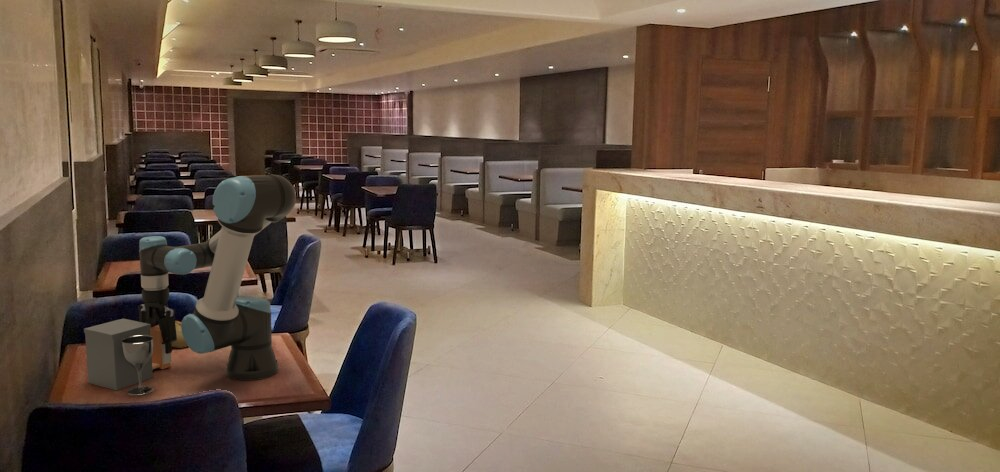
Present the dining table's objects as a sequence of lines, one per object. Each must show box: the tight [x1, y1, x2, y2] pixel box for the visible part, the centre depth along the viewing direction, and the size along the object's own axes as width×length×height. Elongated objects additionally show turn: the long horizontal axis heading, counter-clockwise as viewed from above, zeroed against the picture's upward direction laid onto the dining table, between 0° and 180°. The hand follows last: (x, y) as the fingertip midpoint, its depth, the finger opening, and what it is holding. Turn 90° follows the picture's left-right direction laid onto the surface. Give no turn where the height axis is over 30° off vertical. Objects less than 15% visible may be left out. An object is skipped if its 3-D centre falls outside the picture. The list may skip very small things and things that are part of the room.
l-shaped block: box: [150, 325, 172, 370], centre depth 230 cm, size 6×11×12 cm, turn 153°
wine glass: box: [122, 335, 155, 396], centre depth 213 cm, size 8×8×15 cm
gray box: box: [83, 318, 154, 391], centre depth 221 cm, size 12×13×16 cm
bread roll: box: [156, 320, 189, 349], centre depth 256 cm, size 10×15×8 cm, turn 69°
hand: (159, 361), depth 234 cm, fingers closed on l-shaped block, 6 cm apart
